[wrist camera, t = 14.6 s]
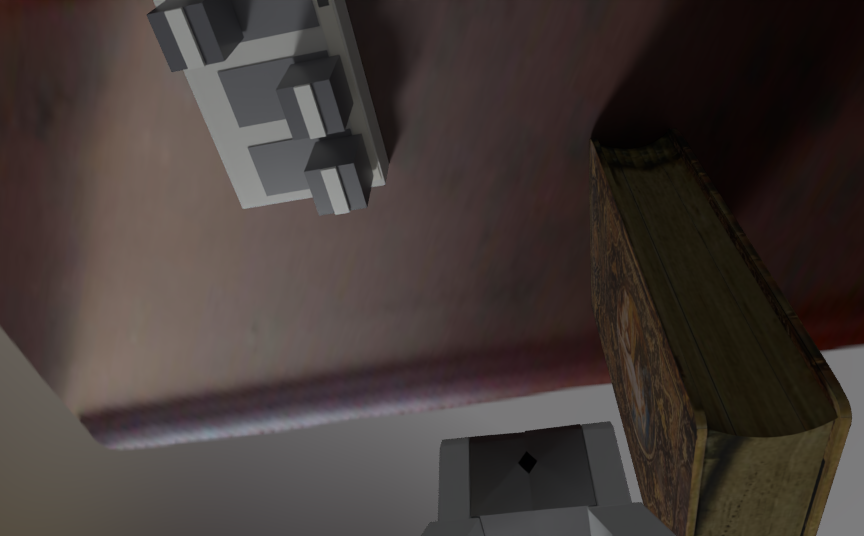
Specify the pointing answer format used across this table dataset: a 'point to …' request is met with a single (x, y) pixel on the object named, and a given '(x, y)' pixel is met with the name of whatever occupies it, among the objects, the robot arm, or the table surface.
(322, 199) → the tab
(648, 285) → the book
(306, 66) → the tab middle
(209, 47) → the tab
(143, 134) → the table surface
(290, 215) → the table surface
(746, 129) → the table surface
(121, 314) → the table surface
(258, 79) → the switch panel
